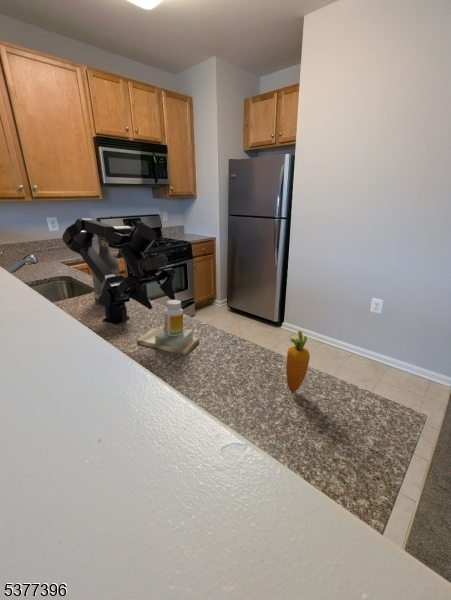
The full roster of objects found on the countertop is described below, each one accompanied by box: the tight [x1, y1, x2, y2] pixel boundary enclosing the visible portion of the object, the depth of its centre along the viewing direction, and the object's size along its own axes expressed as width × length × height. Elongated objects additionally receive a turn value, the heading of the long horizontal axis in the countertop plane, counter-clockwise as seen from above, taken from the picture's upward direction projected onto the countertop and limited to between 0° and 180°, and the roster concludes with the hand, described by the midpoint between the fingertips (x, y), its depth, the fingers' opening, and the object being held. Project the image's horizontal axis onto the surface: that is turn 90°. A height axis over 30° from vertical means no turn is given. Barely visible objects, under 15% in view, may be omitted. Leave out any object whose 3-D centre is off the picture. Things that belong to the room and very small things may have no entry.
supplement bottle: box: [163, 299, 184, 336], centre depth 80 cm, size 5×5×10 cm
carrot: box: [285, 330, 311, 393], centre depth 61 cm, size 5×5×15 cm
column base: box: [136, 327, 200, 356], centre depth 82 cm, size 16×9×4 cm, turn 70°
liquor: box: [91, 236, 120, 307], centre depth 108 cm, size 9×9×30 cm
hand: (163, 304), depth 81 cm, fingers open, 9 cm apart
